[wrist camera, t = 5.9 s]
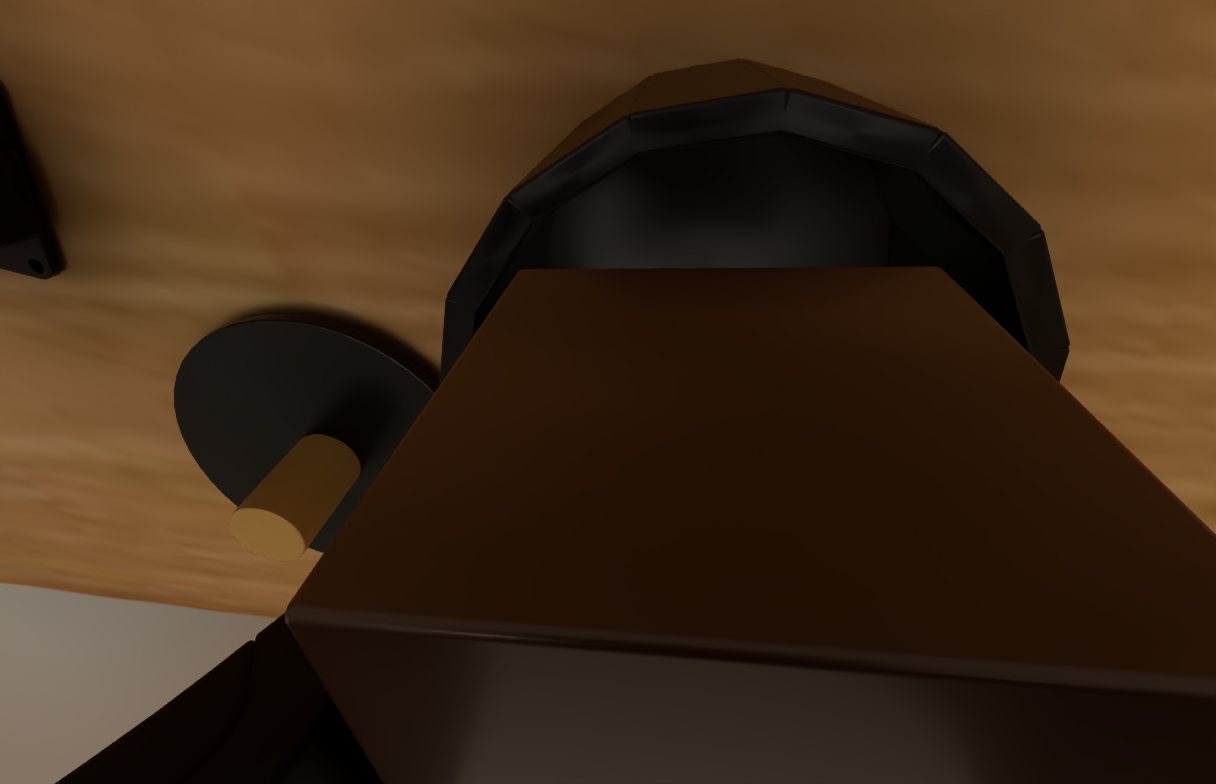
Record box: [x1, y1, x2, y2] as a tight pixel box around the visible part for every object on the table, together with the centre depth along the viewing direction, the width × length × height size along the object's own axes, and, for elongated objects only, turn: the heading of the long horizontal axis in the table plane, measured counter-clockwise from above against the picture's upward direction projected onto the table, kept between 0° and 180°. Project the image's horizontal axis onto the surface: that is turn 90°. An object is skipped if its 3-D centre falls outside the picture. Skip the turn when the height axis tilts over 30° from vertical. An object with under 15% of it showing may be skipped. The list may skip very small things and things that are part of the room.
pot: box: [440, 59, 1070, 384], centre depth 14 cm, size 11×11×8 cm
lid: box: [174, 314, 439, 561], centre depth 21 cm, size 12×12×5 cm
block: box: [285, 267, 1216, 784], centre depth 6 cm, size 5×5×5 cm
